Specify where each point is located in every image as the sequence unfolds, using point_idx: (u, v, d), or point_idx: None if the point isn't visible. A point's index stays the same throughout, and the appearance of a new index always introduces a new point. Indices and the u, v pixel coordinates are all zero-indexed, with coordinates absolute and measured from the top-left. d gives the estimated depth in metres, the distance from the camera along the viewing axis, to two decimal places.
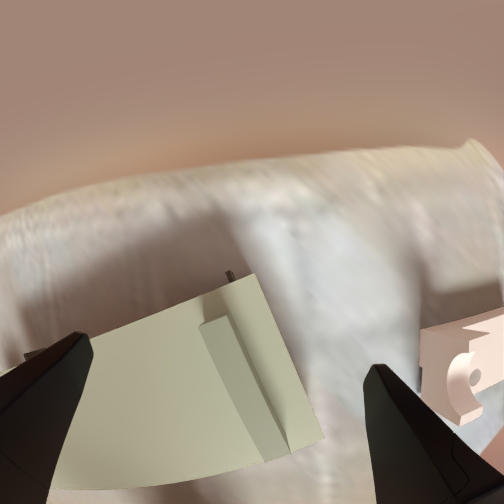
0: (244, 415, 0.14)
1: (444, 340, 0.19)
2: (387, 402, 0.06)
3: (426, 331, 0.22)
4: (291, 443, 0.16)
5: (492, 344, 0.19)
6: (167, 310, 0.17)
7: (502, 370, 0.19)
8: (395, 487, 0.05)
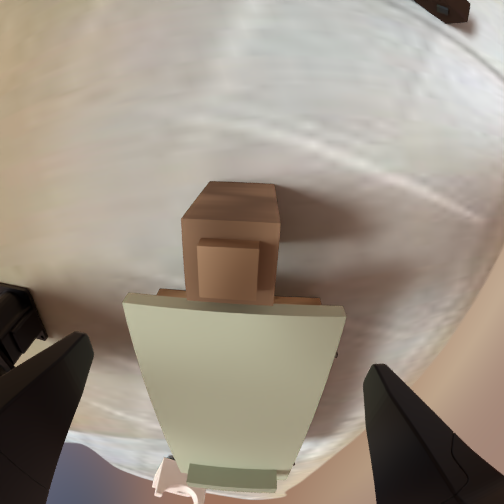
0: (221, 487, 0.22)
1: None
2: (387, 402, 0.06)
3: None
4: (184, 467, 0.25)
5: None
6: (292, 463, 0.23)
7: None
8: (395, 487, 0.05)
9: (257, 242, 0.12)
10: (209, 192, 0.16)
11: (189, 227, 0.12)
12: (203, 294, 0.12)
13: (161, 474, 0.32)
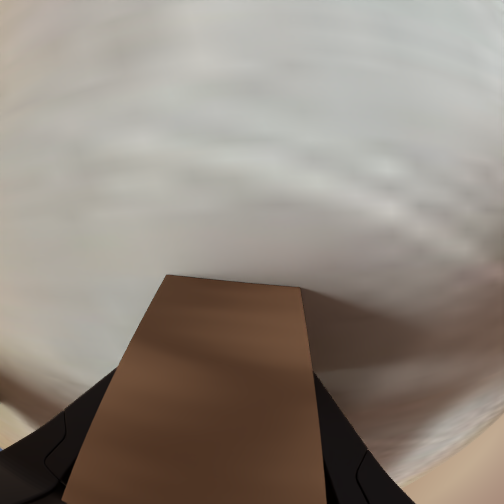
0: None
1: None
2: None
3: None
4: None
5: None
6: None
7: None
8: None
9: None
10: (151, 338, 0.06)
11: None
12: None
13: None
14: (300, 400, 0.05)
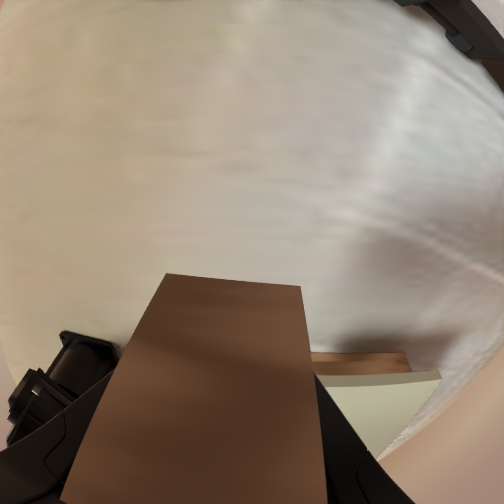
0: None
1: None
2: None
3: None
4: None
5: None
6: None
7: None
8: None
9: None
10: (151, 336, 0.06)
11: None
12: None
13: None
14: (301, 399, 0.05)
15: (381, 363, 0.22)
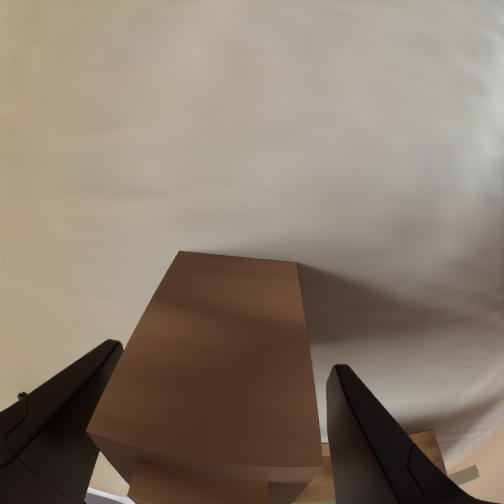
0: None
1: None
2: (344, 405, 0.06)
3: None
4: None
5: None
6: None
7: None
8: (351, 495, 0.05)
9: (263, 481, 0.04)
10: (168, 298, 0.07)
11: (108, 445, 0.04)
12: None
13: None
14: (295, 346, 0.06)
15: None
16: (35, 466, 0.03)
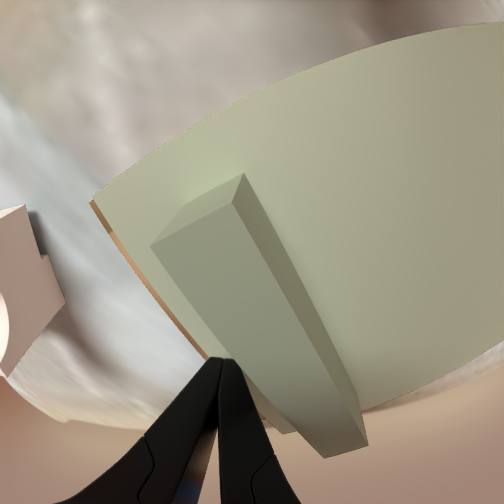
0: (306, 359, 0.06)
1: (31, 333, 0.13)
2: None
3: (56, 311, 0.15)
4: (166, 175, 0.07)
5: None
6: (405, 392, 0.10)
7: None
8: None
9: None
10: None
11: None
12: None
13: None
14: None
15: None
16: None
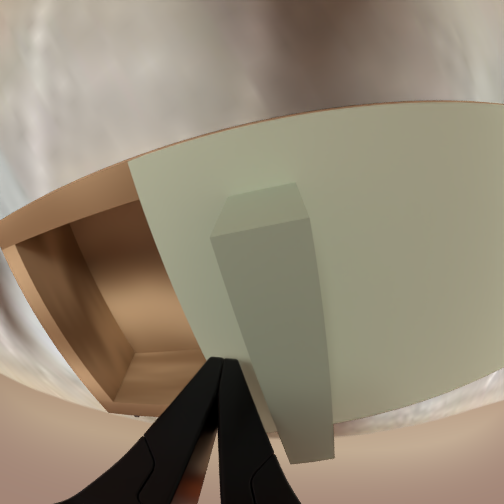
0: (318, 371, 0.06)
1: None
2: None
3: None
4: (217, 163, 0.07)
5: None
6: (370, 414, 0.11)
7: None
8: (220, 496, 0.05)
9: None
10: None
11: None
12: None
13: None
14: None
15: None
16: None
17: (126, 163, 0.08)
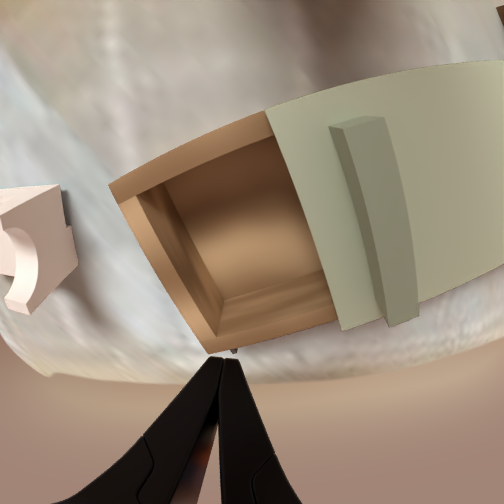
0: (401, 211, 0.10)
1: (52, 284, 0.18)
2: None
3: (71, 270, 0.21)
4: (320, 108, 0.11)
5: None
6: (432, 295, 0.14)
7: None
8: None
9: None
10: None
11: None
12: None
13: (33, 199, 0.15)
14: None
15: None
16: None
17: (248, 117, 0.12)
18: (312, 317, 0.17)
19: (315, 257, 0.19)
